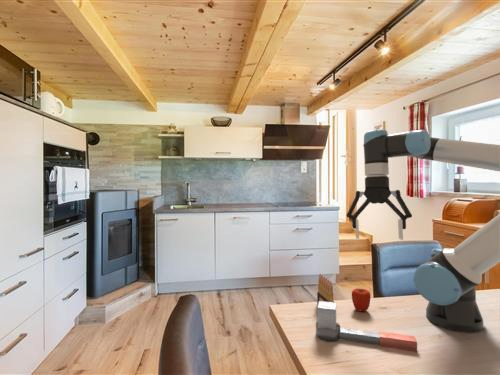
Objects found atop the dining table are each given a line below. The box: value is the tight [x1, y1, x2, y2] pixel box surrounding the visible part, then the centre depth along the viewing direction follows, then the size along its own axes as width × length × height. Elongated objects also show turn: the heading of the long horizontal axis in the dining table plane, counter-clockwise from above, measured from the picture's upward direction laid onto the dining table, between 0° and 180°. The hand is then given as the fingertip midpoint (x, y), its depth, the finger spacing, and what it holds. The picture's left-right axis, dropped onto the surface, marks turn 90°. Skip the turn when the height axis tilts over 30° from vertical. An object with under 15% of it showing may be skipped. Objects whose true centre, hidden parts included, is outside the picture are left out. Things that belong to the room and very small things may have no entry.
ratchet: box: [315, 321, 418, 353], centre depth 81 cm, size 26×7×6 cm, turn 71°
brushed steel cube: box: [317, 301, 337, 331], centre depth 85 cm, size 5×5×6 cm
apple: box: [351, 288, 371, 312], centre depth 101 cm, size 6×6×8 cm
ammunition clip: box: [316, 273, 335, 306], centre depth 102 cm, size 11×2×12 cm, turn 10°
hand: (378, 238), depth 97 cm, fingers open, 13 cm apart
